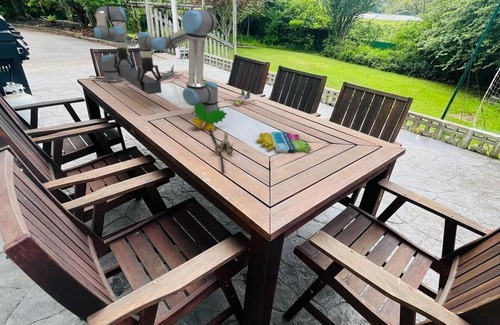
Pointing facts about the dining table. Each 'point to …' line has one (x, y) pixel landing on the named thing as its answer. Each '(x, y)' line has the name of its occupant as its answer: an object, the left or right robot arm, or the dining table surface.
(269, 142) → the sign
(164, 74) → the airplane
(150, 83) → the wide beam
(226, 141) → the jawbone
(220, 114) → the ornament
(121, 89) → the dining table surface
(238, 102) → the toy
